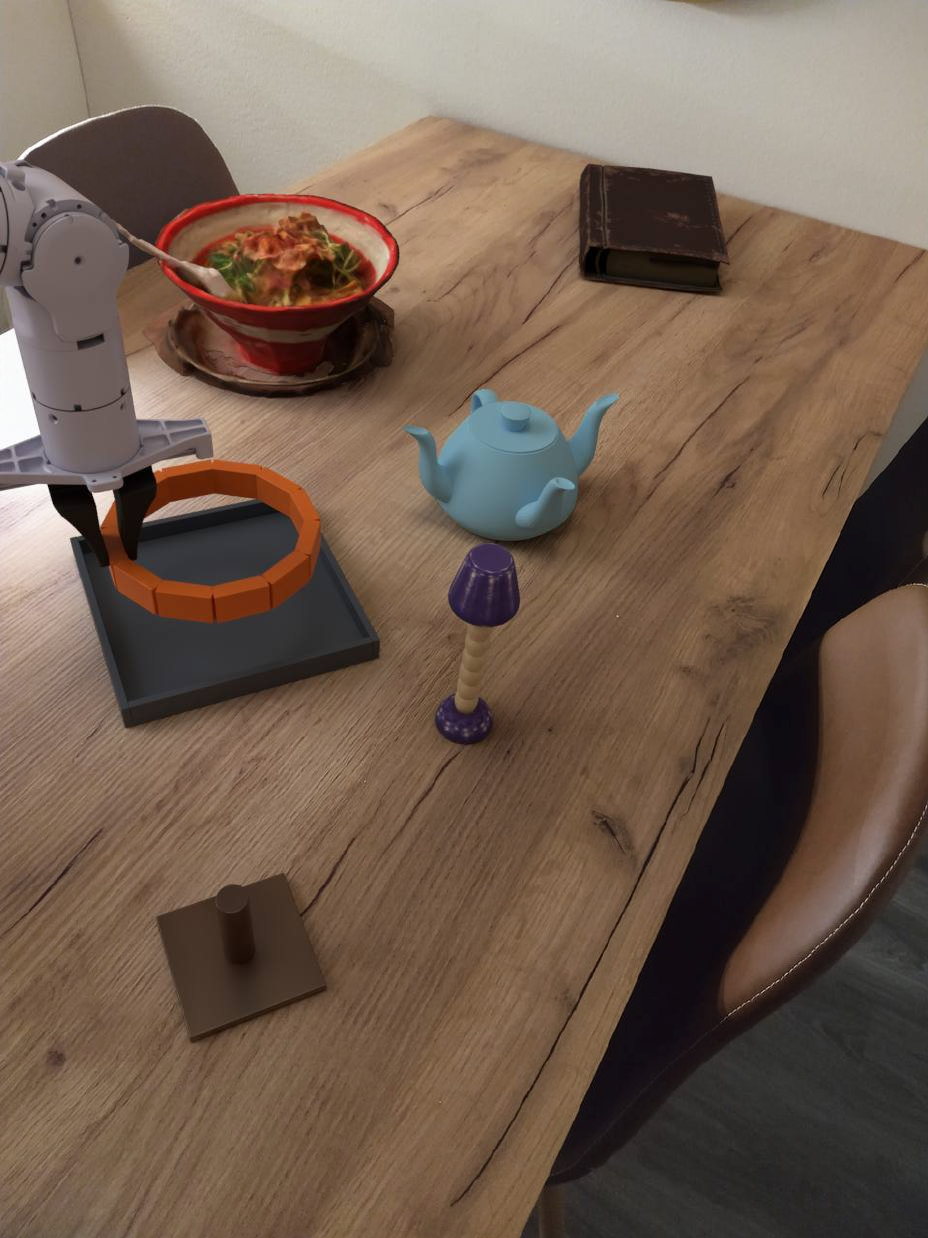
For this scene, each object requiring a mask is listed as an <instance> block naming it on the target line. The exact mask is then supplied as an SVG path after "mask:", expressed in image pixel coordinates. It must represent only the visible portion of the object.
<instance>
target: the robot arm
mask: <svg viewBox="0 0 928 1238" xmlns="http://www.w3.org/2000/svg"><path fill="white" fill-rule="evenodd" d="M111 219H112V218H111V217H110V215H108V213H106V212H105V211H103V209H102V208H100V207H99V206H97V204H95V203H93V202H92V201H91V200H89V199H88V197H86V196H84V195H82V194H81V193H80V192H79V191H77V190H76V189H74V188H73V187H72V186H70V185H69V184H68V183H66V182H65V181H64V180H62V179H61V178H60V177H58V176H56V175H55V174H54V173H52V172H50V171H47V170H46V169H43V168H41V167H39V166H36V165H32V164H31V163H29V162H28V161H26V160H25V159H12V160H9V161H6V162H5V161H0V288H4V289H5V293H6V297H7V302H8V305H9V309H10V312H11V321H12V322H11V323H12V327H13V329H14V330H13V331H14V334H15V338H16V342H17V345H18V350H19V354H20V357H21V362H22V366H23V370H24V374H25V378H26V382H27V386H28V390H29V394H30V398H31V402H32V407H33V410H34V414H35V418H36V422H37V427H38V430H39V434H37V435H35V436H33V437H30V438H27V439H24V440H22V441H19V442H17V443H14V444H12V445H9V446H7V447H5V448H2V449H0V492H4V491H8V490H13V489H19V488H24V487H31V486H36V485H47V489H48V493H49V495H50V500H51V503H52V506H53V507H54V509H55V511H56V512H57V514H58V515H59V516H60V517H61V518H63V519H64V520H65V521H67V522H68V523H69V524H70V525H71V526H72V527H74V529H76V531H77V532H78V533H79V534H80V536H81V535H82V536H83V537H84V539H85V540H86V541H87V543H88V544H89V546H90V547H91V549H92V550H93V552H94V554H95V556H96V557H97V560H98V562H99V566H100V567H107V566H110V562H109V555H108V552H107V549H106V546H105V543H104V540H103V537H102V534H101V530H100V526H101V524H100V519H99V514H98V507H97V504H96V500H95V498H94V495H93V494H100V493H104V492H109V491H112V493H113V498H114V500H115V505H116V515H117V524H118V531H119V534H120V537H121V540H122V543H123V546H124V549H125V552H126V554H127V556H128V558H129V559H130V560H132V561H134V560H137V549H138V541H139V535H140V531H141V527H142V524H143V523H144V522H145V519H146V518H145V515H146V513H147V511H148V509H149V507H150V505H151V503H152V502H153V500H154V499H155V497H156V493H157V482H156V478H155V476H154V471H153V465H155V464H157V463H160V462H163V461H168V460H175V459H178V458H184V457H190V456H194V455H195V457H196V458H197V459H198V460H207V459H210V458H211V459H212V458H214V457H215V454H214V446H213V436H212V432H211V430H210V427H209V426H208V424H207V421H206V419H205V417H203V416H202V417H195V418H185V419H184V418H183V419H164V418H163V419H161V418H160V419H159V418H157V419H156V418H137V415H136V410H135V404H134V397H133V391H132V386H131V380H130V373H129V367H128V360H127V355H126V354H127V353H126V349H125V343H124V336H123V331H122V326H121V319H120V312H119V309H118V304H117V303H118V302H117V295H118V291H119V289H120V287H121V285H122V283H123V282H124V279H125V277H126V274H127V272H128V268H129V261H130V246H129V244H128V243H126V242H123V241H122V240H121V239H120V235H119V231H118V229H116V227H115V225H114V223H113V222H112V220H111ZM144 518H145V519H144Z"/></svg>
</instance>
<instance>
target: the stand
mask: <svg viewBox="0 0 928 1238" xmlns="http://www.w3.org/2000/svg"><path fill="white" fill-rule="evenodd" d="M155 920H156V924H157V928H158V931H159V934H160V938H161V941H162V945H163V949H164V952H165V955H166V960H167V963H168V967H169V970H170V974H171V977H172V981H173V985H174V988H175V991H176V995H177V998H178V1003H179V1006H180V1009H181V1014H182V1017H183V1020H184V1024H185V1027H186V1031H187V1034H188V1035H187V1036H188V1039H189V1042H191V1043H193V1042H196V1041H198V1040H201V1039H203V1038H206V1037H208V1036H211V1035H213V1034H216V1033H218V1032H222V1031H223V1030H226V1029H228V1028H231V1027H233V1026H237V1025H239V1024H241V1023H244V1022H246V1021H249V1020H252V1019H254V1018H256V1017H259V1016H262V1015H264V1014H267V1013H270V1012H271V1011H274V1010H277V1009H280V1008H282V1007H284V1006H287V1005H290V1004H292V1003H295V1002H297V1001H300V1000H302V999H305V998H308V997H310V996H312V995H316V994H318V993H320V992H323V991H325V990H327V982H326V978H325V976H324V974H323V971H322V969H321V966H320V964H319V961H318V959H317V956H316V953H315V951H314V948H313V946H312V943H311V941H310V937H309V935H308V932H307V929H306V927H305V924H304V922H303V919H302V916H301V914H300V910H299V909H298V906H297V904H296V901H295V898H294V896H293V893H292V891H291V887H290V885H289V882H288V880H287V878H286V874H285V873H284V872H282V873H279V874H276V875H275V874H274V875H272V876H270V877H266V878H264V879H261V880H258V881H255V882H252V883H250V884H247V885H243V886H242V885H240V884H236V883H232V884H227V885H225V886H223V887H222V888H220V889H219V890H218V892H217V894H216V895H214V896H211V897H208V898H206V899H203V900H200V901H197V902H195V903H191V904H189V905H186V906H183V907H179V908H177V909H174V910H172V911H168V912H165V913H163V914H159V915H156V918H155Z"/></svg>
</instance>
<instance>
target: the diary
mask: <svg viewBox="0 0 928 1238" xmlns="http://www.w3.org/2000/svg"><path fill="white" fill-rule="evenodd" d="M579 177H580V178H579V185H578V187H579V218H578V228H579V229H578V231H579V253H578V266H579V271H580V276H581V278H582V279H583V280H593V281H599V280H600V281H601V282H609V283H616V284H617V283H618V284H626V285H635V286H641V287H642V286H643V287H651V288H660V289H667V290H675V291H676V290H677V291H687V292H688V291H689V292H705V293H716V292H721V291H722V290H724V289H723V288H724V287H722V284H721V282H720V281H721V280H720V276H719V269H720V265H721V263H722V264H725V265H728V266H730V265H731V262H730V257H729V252H728V247H727V242H726V239H725V234H724V229H723V225H722V221H721V215H720V209H719V203H718V196H717V192H716V188H715V184H714V180H713V176H712V175H704V174H697V173H692V172H691V173H690V172H683V171H674V170H668V169H660V168H659V169H658V168H652V167H651V168H650V167H639V166H637V167H636V166H624V165H608V164H607V165H606V164H605V165H603V164H598V163H597V164H596V163H587V164H586V165H585V167H584V169H583V170H582V172H581V173H580V176H579Z"/></svg>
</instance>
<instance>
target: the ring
mask: <svg viewBox="0 0 928 1238" xmlns="http://www.w3.org/2000/svg"><path fill="white" fill-rule="evenodd" d="M153 473H154V476H155V478H156V482H157V493H156V497H155V499H154V500H153V502H152V503H151V505H150V507H149V509H148V511H147V513H146V515H145V518H144V520H145V519H147V518H149V516H152V514H154V513H156V512H157V511H159V510H160V509H162V508H164V507H165V506H167V505H169V504H170V503H173V502H179V501H184V500H189V499H194V498H199V497H204V496H210V495H222V496H230V497H238V498H244V499H245V498H246V499H251V500H254V499H259V500H260V501H262V502H264V503H266V504H267V505H269V506H271V507H273V508H274V509H276V510H278V511H280V512H282V513H283V514H285V515H287V516H289V517H290V518H291V520H292V522H293V524H294V526H295V527H296V529H297V531H298V533H299V538H298V541H297V545H296V548H295V551H293V552H292V553H290V554H289V555H288V556H286V557H285V558H284V559H282V560H281V561H280V562H278V563H277V564H276V565H274V566H273V567H272V568H270V569H269V570H268V571H266V572H265V573H263V574H262V575H259V576H255V577H251V578H246V579H242V580H238V581H233V582H229V583H224V584H220V585H216V586H206V585H198V584H191V583H183V582H175V581H167V580H162V579H161V578H159V577H157V576H156V575H154V574H153V573H151V572H150V571H148V570H146V569H145V568H143V567H142V566H140V565H138V564H137V563H135V562H134V561H132V560H130V559H129V558H128V556H127V554H126V552H125V549H124V546H123V543H122V540H121V537H120V534H119V531H118V524H117V515H116V505H115V499H114V500H113V502H112V504H111V506H110V508H109V510H108V511H107V514H106V515H105V517H104V519H103V521H102V522H101V524H100V530H101V534H102V537H103V540H104V543H105V546H106V549H107V552H108V555H109V562H110V566H109V569H110V572H111V575H112V579H113V582H114V585H115V588H118V591H119V592H121V593H122V594H124V595H125V596H127V597H128V598H130V599H131V600H133V601H134V602H136V603H137V604H139V605H141V606H142V607H144V608H145V609H147V610H148V611H150V612H151V613H153V614H154V615H157V614H158V613H159V616H160V617H166V618H174V619H182V620H190V621H197V622H205V623H214V621H215V619H216V621H217V623H222V622H226V621H230V620H234V619H238V618H242V617H247V616H251V615H255V614H259V613H263V612H267V611H270V607H271V608H273V609H275V608H276V607H277V606H279V605H280V604H281V603H283V602H284V601H285V600H286V599H288V598H289V597H290V596H291V595H293V594H294V593H295V592H297V591H298V590H299V589H300V588H302V587H303V586H304V585H306V584H307V583H308V582H309V579H311V578H312V575H313V571H314V568H315V564H316V561H317V557H318V554H319V550H320V547H321V533H322V531H321V530H322V522H321V517H320V515H319V513H318V511H317V510H316V508H315V506H314V504H313V503H312V500H311V499H310V497H309V494H308V493H307V491H306V490H305V488H303V487H302V486H301V485H299V484H297V483H296V482H294V481H292V480H290V479H289V478H287V477H285V476H283V475H281V474H279V473H277V472H275V471H274V470H272V469H270V468H268V467H267V466H262V465H260V464H253V463H247V462H246V463H244V462H238V461H229V460H224V459H223V460H222V459H213V461H212V460H211V459H204V460H200V461H195V462H190V463H184V464H178V465H173V466H169V467H162V468H161V470H159V469H157V470H155V471H153Z"/></svg>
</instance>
